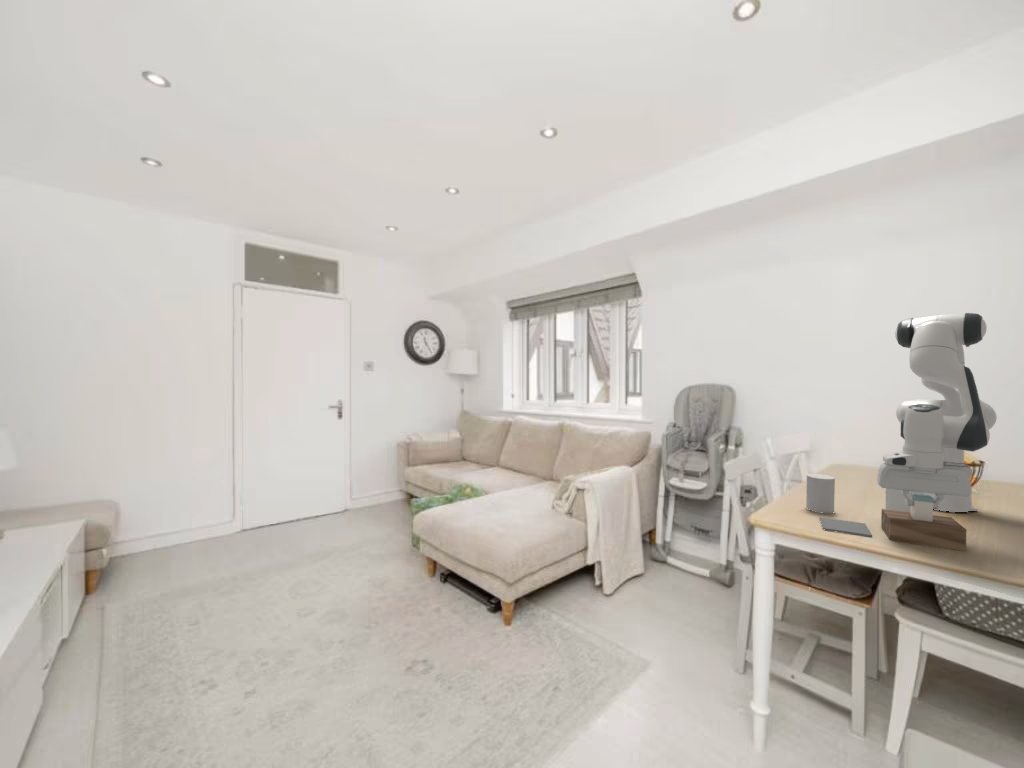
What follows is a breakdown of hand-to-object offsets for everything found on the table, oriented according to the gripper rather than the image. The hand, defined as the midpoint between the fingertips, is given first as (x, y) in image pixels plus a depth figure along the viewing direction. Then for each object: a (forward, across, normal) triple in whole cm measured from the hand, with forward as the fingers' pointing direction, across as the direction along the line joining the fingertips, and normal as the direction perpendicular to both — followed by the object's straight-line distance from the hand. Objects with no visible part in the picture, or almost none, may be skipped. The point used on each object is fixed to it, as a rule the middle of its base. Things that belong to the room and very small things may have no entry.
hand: (921, 506), depth 129 cm
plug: (+8, 0, 0) cm, 8 cm away
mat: (+9, +18, 0) cm, 20 cm away
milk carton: (+10, 0, -19) cm, 21 cm away
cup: (+10, +23, -18) cm, 31 cm away
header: (+9, 0, 0) cm, 9 cm away
